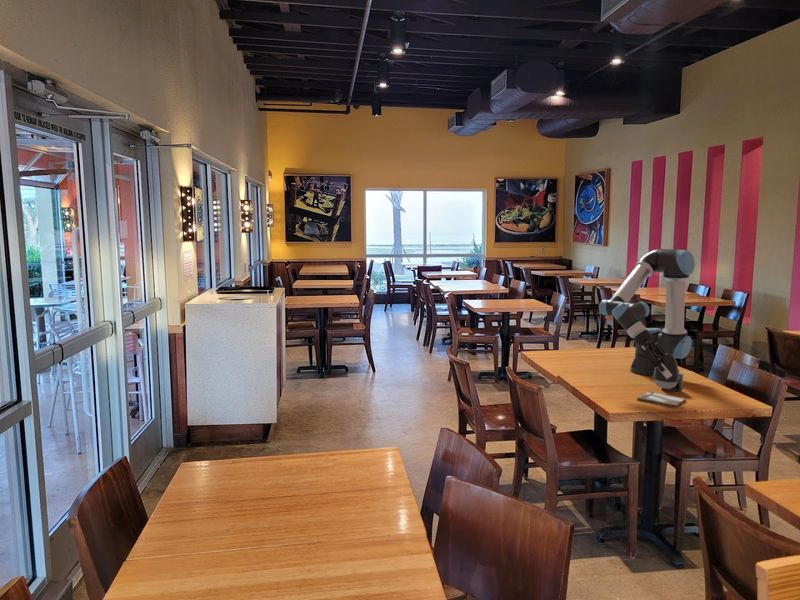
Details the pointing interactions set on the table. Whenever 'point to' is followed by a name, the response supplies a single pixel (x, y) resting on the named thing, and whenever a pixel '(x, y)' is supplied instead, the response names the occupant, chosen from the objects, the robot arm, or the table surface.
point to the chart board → (661, 399)
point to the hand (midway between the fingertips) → (673, 375)
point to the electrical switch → (679, 385)
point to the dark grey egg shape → (673, 369)
